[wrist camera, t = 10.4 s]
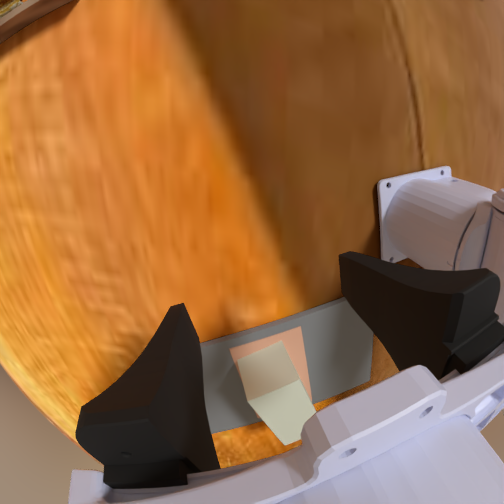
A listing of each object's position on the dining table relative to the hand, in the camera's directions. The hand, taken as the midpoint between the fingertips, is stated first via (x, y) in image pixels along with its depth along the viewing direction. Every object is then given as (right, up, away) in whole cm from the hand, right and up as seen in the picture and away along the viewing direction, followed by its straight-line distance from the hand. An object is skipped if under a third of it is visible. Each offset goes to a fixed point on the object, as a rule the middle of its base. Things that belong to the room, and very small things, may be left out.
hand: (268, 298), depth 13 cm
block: (+2, -11, +15) cm, 18 cm away
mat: (+2, -11, +15) cm, 19 cm away
